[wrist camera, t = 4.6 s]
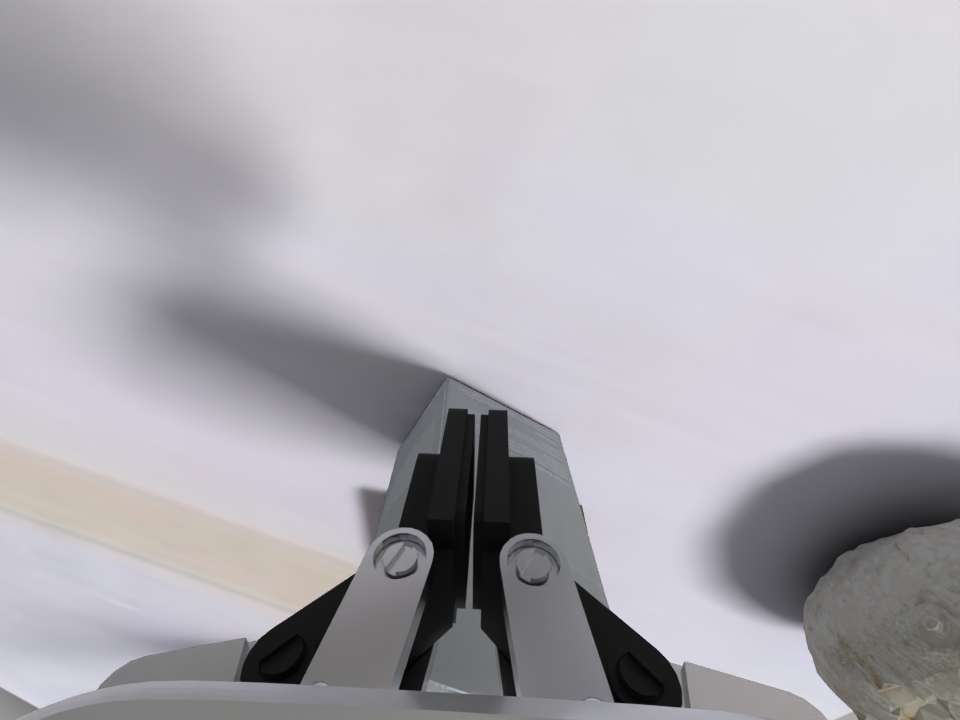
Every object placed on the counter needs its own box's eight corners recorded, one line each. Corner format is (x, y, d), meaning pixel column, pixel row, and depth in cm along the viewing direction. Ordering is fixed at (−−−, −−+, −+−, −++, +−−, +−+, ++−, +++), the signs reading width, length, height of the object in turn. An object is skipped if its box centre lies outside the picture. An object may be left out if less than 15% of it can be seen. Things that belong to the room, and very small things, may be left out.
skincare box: (399, 444, 27) (284, 784, 13) (455, 361, 24) (388, 685, 10) (510, 499, 28) (518, 851, 14) (575, 428, 25) (667, 785, 11)
